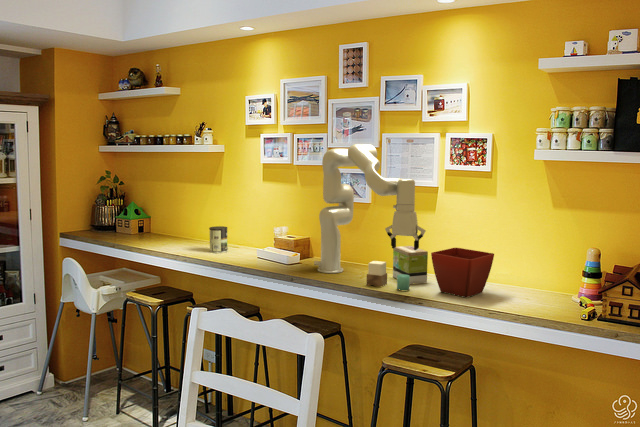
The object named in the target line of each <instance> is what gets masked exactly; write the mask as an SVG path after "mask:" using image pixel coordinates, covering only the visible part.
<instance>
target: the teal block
mask: <svg viewBox="0 0 640 427" xmlns="http://www.w3.org/2000/svg"><path fill="white" fill-rule="evenodd" d="M409 281H410V276H409V275H405V274H399V275H397V278H396V290H397V289H400V290H408V289H409V290H410V284H409Z"/></svg>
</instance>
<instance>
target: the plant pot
mask: <svg viewBox="0 0 640 427" xmlns="http://www.w3.org/2000/svg"><path fill="white" fill-rule="evenodd" d="M430 256H431V263H432V267H433V271H434V276H435V280H436V281H437V282H436V283H437V286H438V289H439V290H440V292H441V293H444V292H446V293H445V294H448V293H450V295H452V294H455V295H454V296H457V295H459V296H458V297H461V296H463V297H462V298H469V296H470V297H472V295H473V296H475V295H478V294H482V292H483V291H484V289H485V286H486V285H487V284H486V283H487V282H488V279H489V276H490V273H491V269H492V266H493V262H494V257H495V253H493V252H489V251H481V250H475V249H468V248H463V247H450V248H447V249H442V250H438V251H437V250H436V251H433V252H431V255H430Z"/></svg>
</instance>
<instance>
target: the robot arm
mask: <svg viewBox="0 0 640 427" xmlns="http://www.w3.org/2000/svg"><path fill="white" fill-rule="evenodd" d="M377 157H378V151H377V148H375V146H374V145H373V144H369V143H367V144H366V143H355V144H352V145H351V146H349V147H348V148H342V147H341V148H338V147H337V148H331V149H329V150H326V152H324V155H323V156H322V162H321V163H322V164H321V165H322V166H321V167H322V174H323V179H322V180H323V181H322V182H323V184H322V197H323V202H325V203H326V204H331V205H332V204H338V205H332V206H329V205H328V206H325V207H323V208H322V209H321V210H320V211H319V214H318V216H319V217H318V218H319V225H320V260H314V261H313V265H314V266H318V268H317V272H319V273H323V274H338V273H343V272H344V267H341V246H342V245H341V243H342V240H341V239H342V238H341V236H342V235H341V231H340V229H339V227H338V226H345V225H349V224H350V223H351V222H352V221H353V218H354V203H355V201H354V199H355V198H354V197H355V194H354V190H353V187H352V186H351V185H350V184H348V183H342V174H341V171H340V167H357V168H358V169H359V170H360V171H361V172H362V173H363V174H364V179H365V182H366V185H367V186H368V187H369V189H370V190H372V191H373V192H374V193H375V194H376V195H378V196H380V197H381V196H382V197H383V196H384V197H386V196H387V197H388V196H389V197H390V196H396V204H393V207H392V208H393V209H395V210H396V211H395V210H394V212H393V217H392V224H391V225H389V226H387V227H385V228H384V230H385V231H386V234H387V237H389V239H390V246H391V249H393V248H395V247H397V239H396V237H397V236H403V237H413V238H414V240H413V247H414V250H417V249H418V248H419V249H420V240H421V239H422V238H423V237H424V235H425V233H426V229H424V228H422V227H421V226H419V225H418V224H419V223H418V217H417V216H418V215H417V211H416V210H415V208H416V206H415V205H416V204H415V202H416V201H415V200H416V198H415V197H416V196H415V194H416V182H415V179H413V178H399V177H382V176H381V175H380V174H379V173H378V171H379V170H380V168H381V162H380V160H379V159H378V158H377ZM419 232H420V234H419V235H418V233H419Z"/></svg>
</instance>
